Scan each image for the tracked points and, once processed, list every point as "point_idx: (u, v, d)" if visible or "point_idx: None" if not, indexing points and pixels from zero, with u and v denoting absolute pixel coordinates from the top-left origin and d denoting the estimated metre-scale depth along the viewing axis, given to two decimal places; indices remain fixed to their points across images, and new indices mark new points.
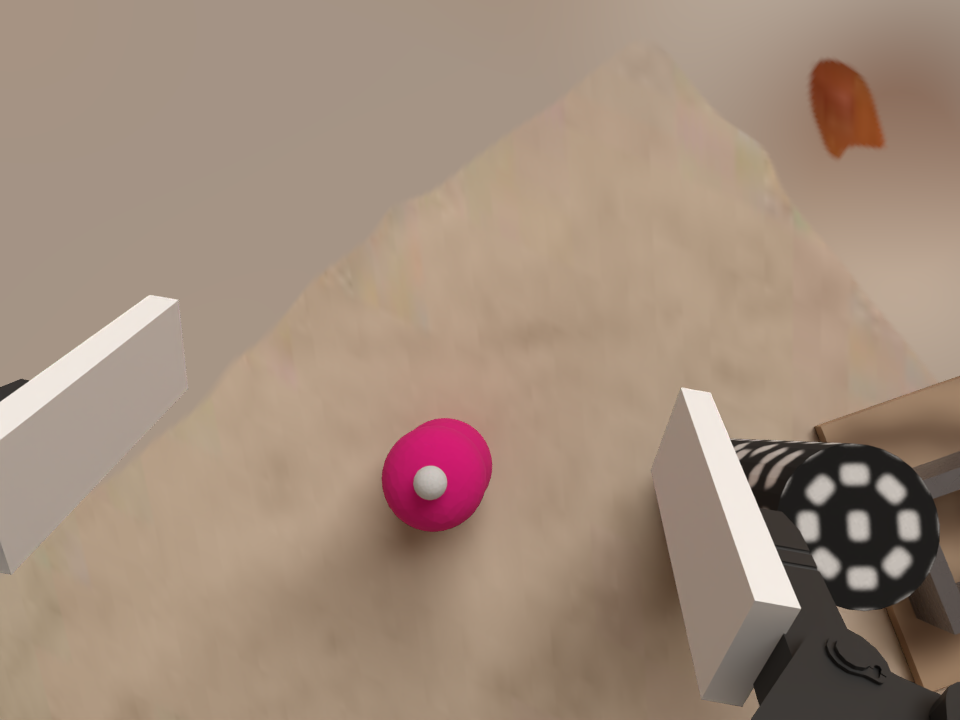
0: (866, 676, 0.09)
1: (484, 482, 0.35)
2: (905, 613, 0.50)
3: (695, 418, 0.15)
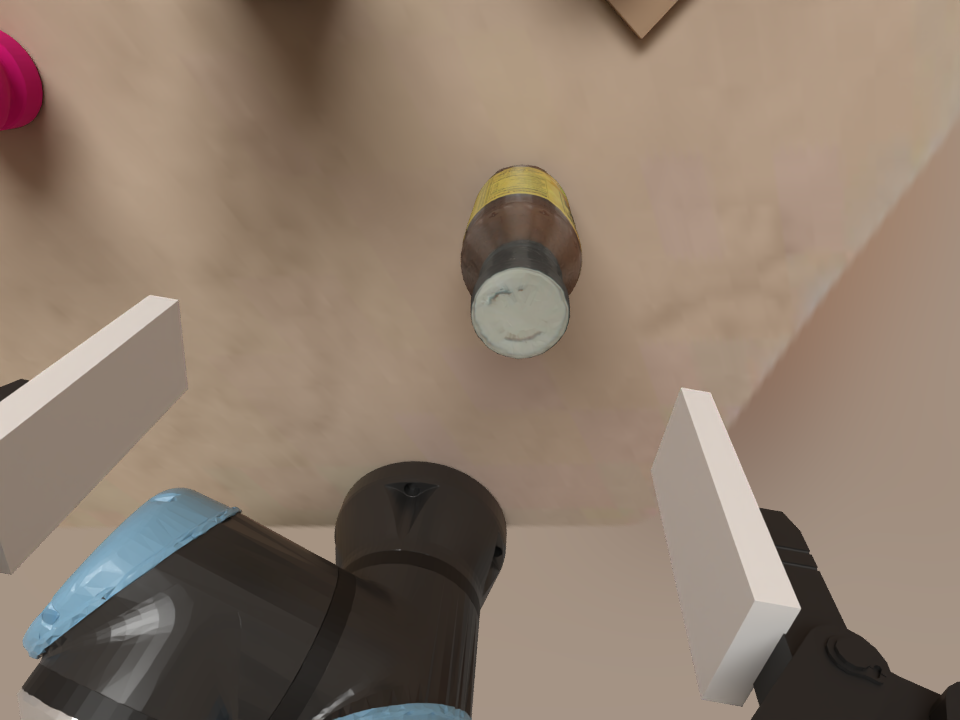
0: (866, 676, 0.09)
1: None
2: None
3: (695, 417, 0.15)
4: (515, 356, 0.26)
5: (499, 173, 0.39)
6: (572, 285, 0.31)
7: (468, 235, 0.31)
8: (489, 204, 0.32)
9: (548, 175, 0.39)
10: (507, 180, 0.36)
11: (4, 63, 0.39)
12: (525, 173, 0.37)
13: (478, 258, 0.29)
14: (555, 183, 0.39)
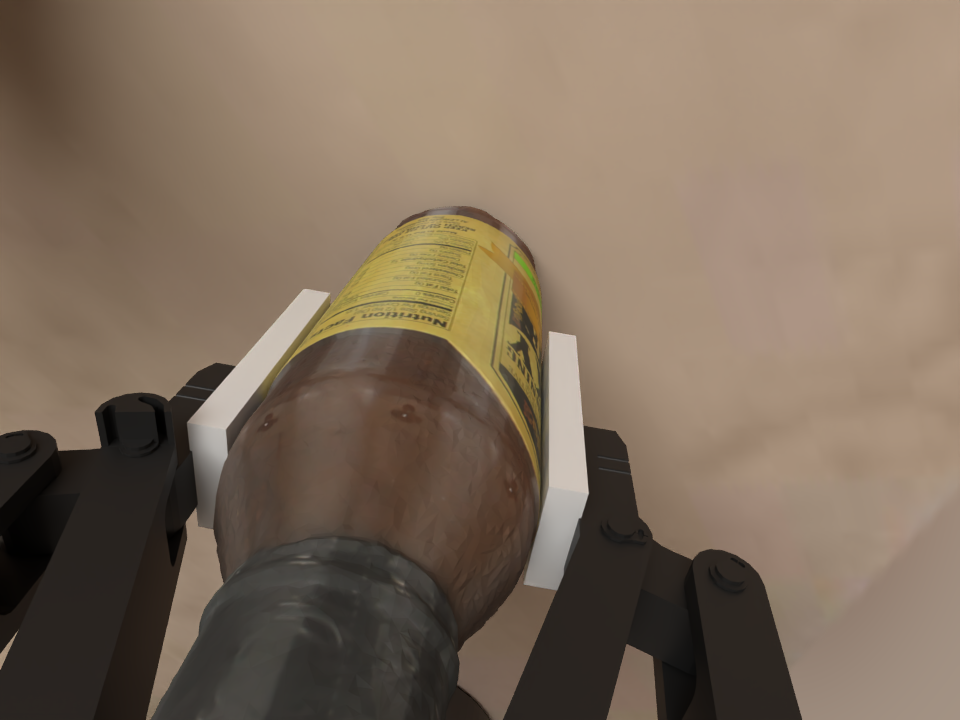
0: (633, 540, 0.11)
1: None
2: None
3: (552, 354, 0.16)
4: None
5: (394, 232, 0.20)
6: (512, 584, 0.11)
7: (225, 464, 0.11)
8: (300, 357, 0.13)
9: (491, 229, 0.20)
10: (384, 264, 0.16)
11: None
12: (433, 237, 0.18)
13: (223, 558, 0.10)
14: (503, 248, 0.19)
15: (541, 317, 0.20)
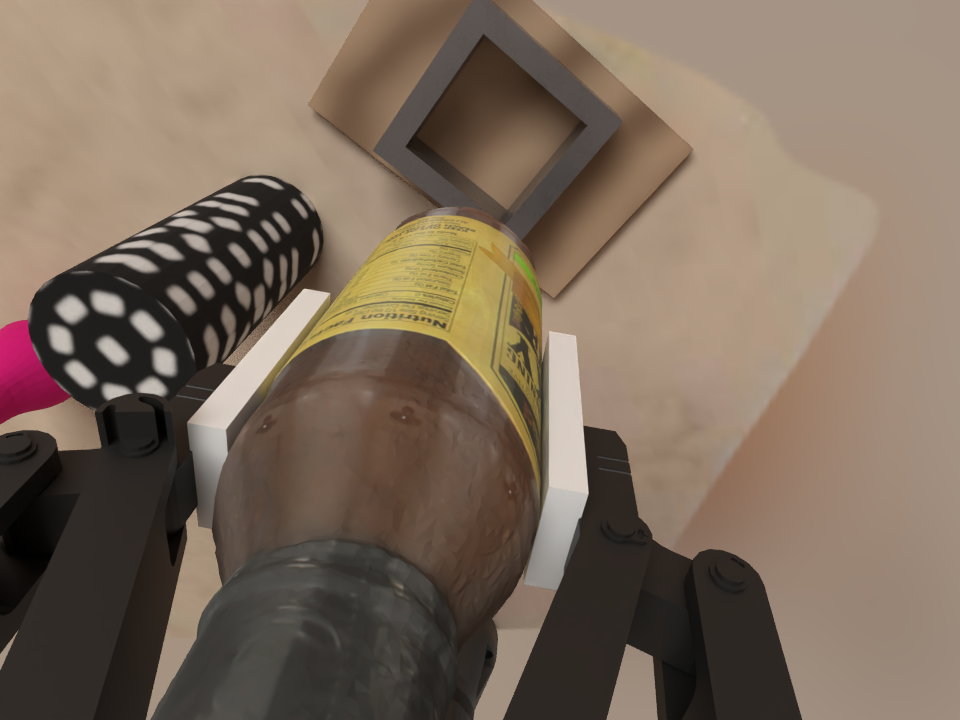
0: (633, 540, 0.11)
1: None
2: None
3: (552, 354, 0.16)
4: None
5: (394, 232, 0.20)
6: (511, 586, 0.11)
7: (223, 465, 0.11)
8: (299, 358, 0.13)
9: (491, 230, 0.20)
10: (383, 264, 0.16)
11: None
12: (433, 238, 0.18)
13: (222, 560, 0.10)
14: (503, 248, 0.19)
15: None
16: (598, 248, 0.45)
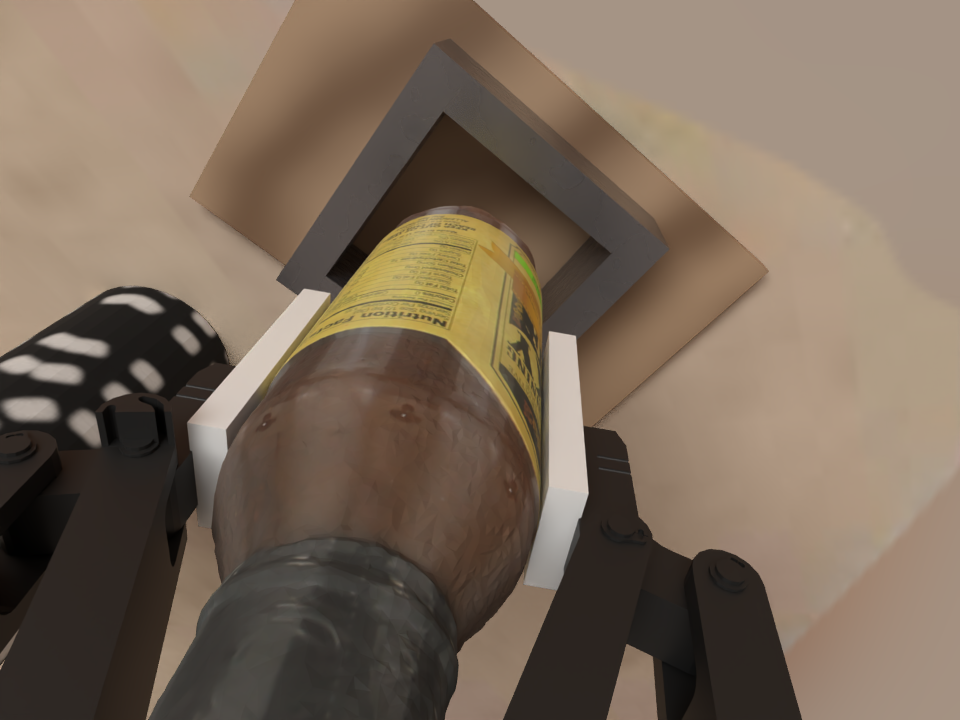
0: (633, 540, 0.11)
1: None
2: None
3: (552, 354, 0.16)
4: None
5: (394, 231, 0.20)
6: (511, 585, 0.11)
7: (223, 464, 0.11)
8: (299, 357, 0.13)
9: (491, 228, 0.20)
10: (383, 263, 0.16)
11: None
12: (433, 236, 0.18)
13: (221, 559, 0.10)
14: (503, 247, 0.19)
15: None
16: (620, 398, 0.31)
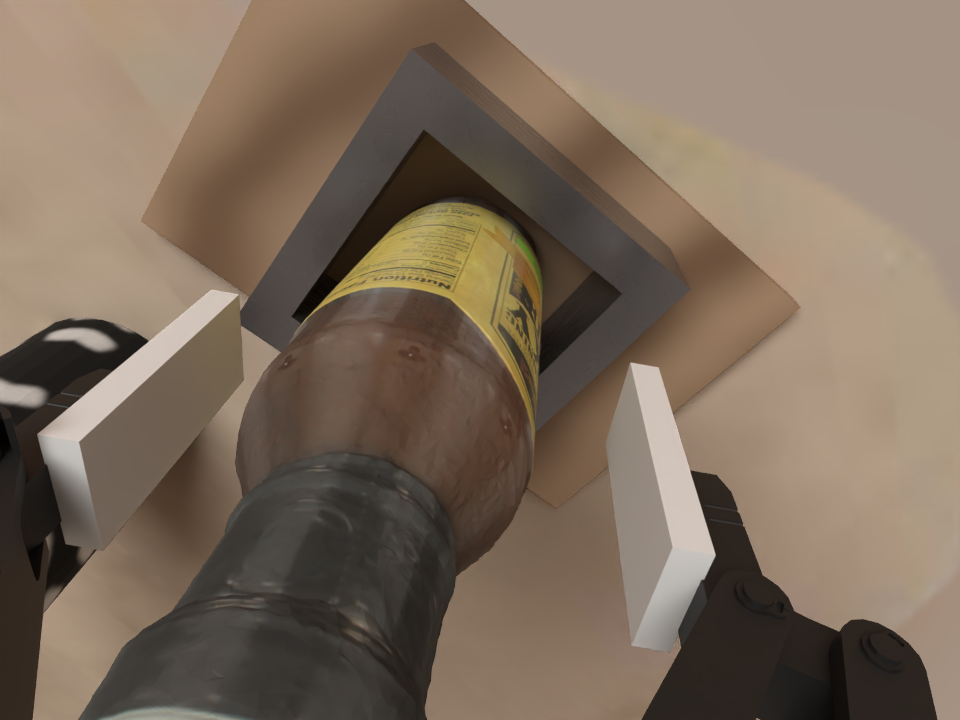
0: (770, 612, 0.10)
1: None
2: None
3: (640, 389, 0.15)
4: None
5: (404, 218, 0.21)
6: (506, 518, 0.12)
7: (247, 405, 0.13)
8: (316, 315, 0.14)
9: (495, 216, 0.21)
10: (394, 241, 0.17)
11: None
12: (441, 220, 0.19)
13: (245, 483, 0.11)
14: (506, 232, 0.20)
15: None
16: None
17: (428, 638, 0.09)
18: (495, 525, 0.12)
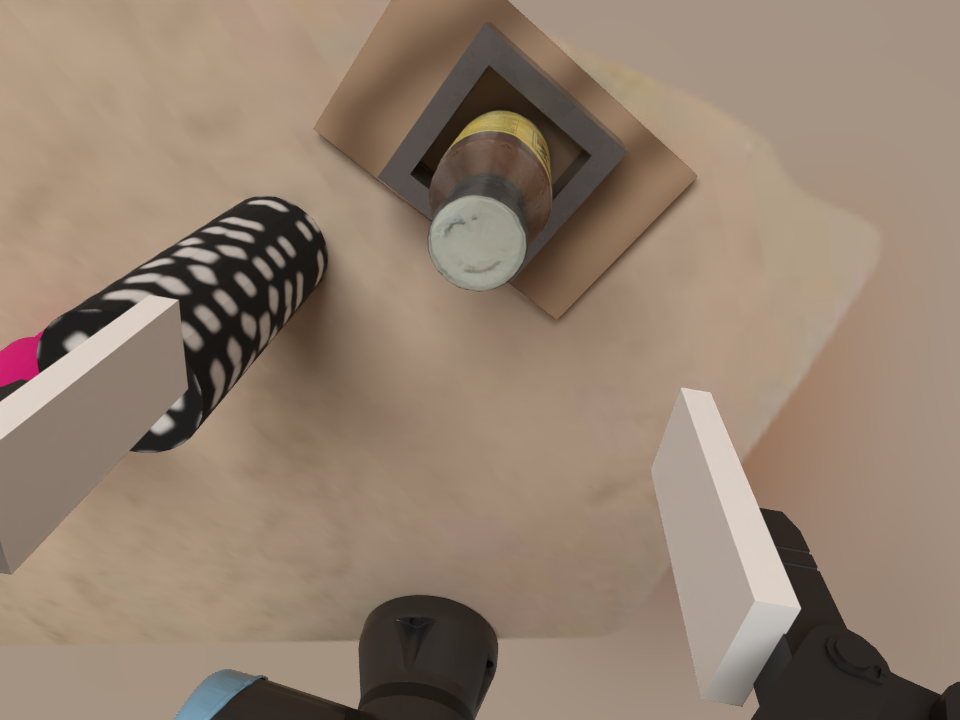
0: (865, 676, 0.09)
1: None
2: None
3: (695, 417, 0.15)
4: (477, 289, 0.26)
5: (474, 119, 0.39)
6: (542, 220, 0.30)
7: (433, 176, 0.30)
8: (455, 145, 0.32)
9: (524, 117, 0.39)
10: (478, 123, 0.35)
11: None
12: (498, 115, 0.37)
13: (442, 197, 0.29)
14: (531, 124, 0.38)
15: None
16: (601, 272, 0.46)
17: None
18: (538, 219, 0.30)
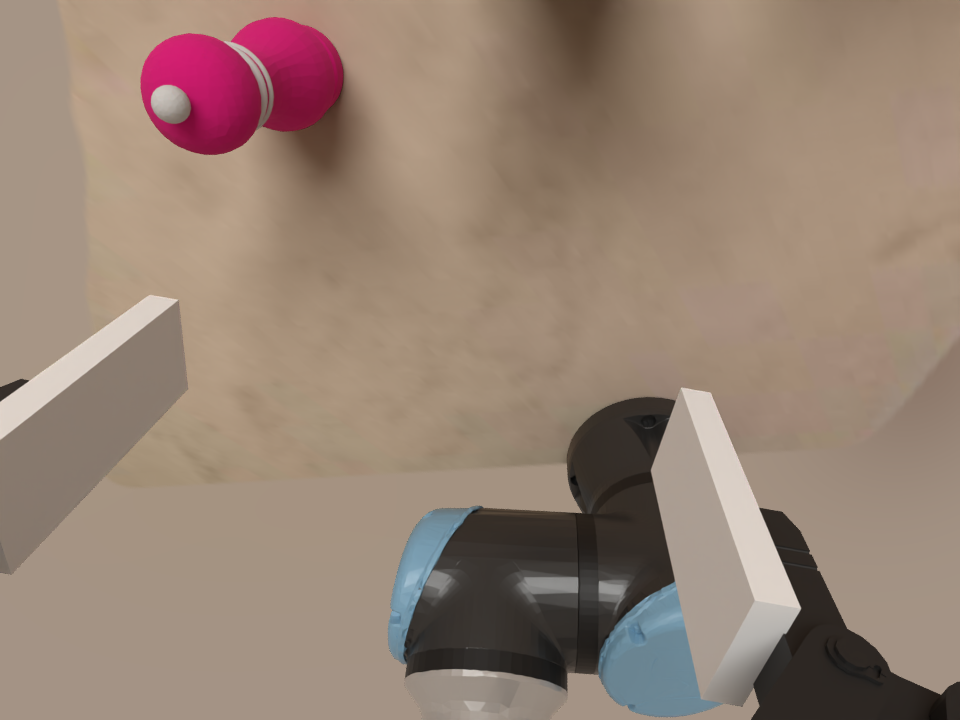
0: (865, 676, 0.09)
1: (237, 69, 0.32)
2: None
3: (695, 417, 0.15)
4: None
5: None
6: None
7: None
8: None
9: None
10: None
11: None
12: None
13: None
14: None
15: None
16: None
17: None
18: None
